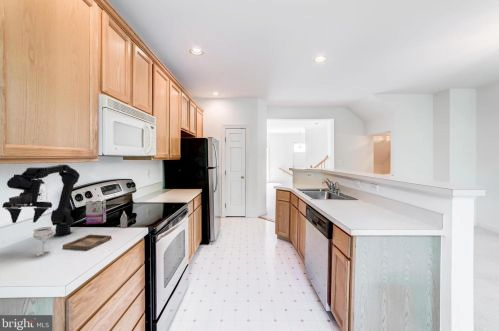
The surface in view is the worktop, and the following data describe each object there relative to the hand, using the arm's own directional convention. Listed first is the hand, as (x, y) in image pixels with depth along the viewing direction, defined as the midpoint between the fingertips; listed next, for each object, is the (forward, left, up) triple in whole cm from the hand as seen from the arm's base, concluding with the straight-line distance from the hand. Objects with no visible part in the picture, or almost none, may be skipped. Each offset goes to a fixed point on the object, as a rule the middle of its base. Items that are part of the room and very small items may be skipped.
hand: (24, 222), depth 106 cm
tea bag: (-44, +19, -15) cm, 51 cm away
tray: (-13, +22, -14) cm, 30 cm away
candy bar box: (-48, -6, -15) cm, 51 cm away
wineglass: (+1, +11, -15) cm, 19 cm away
